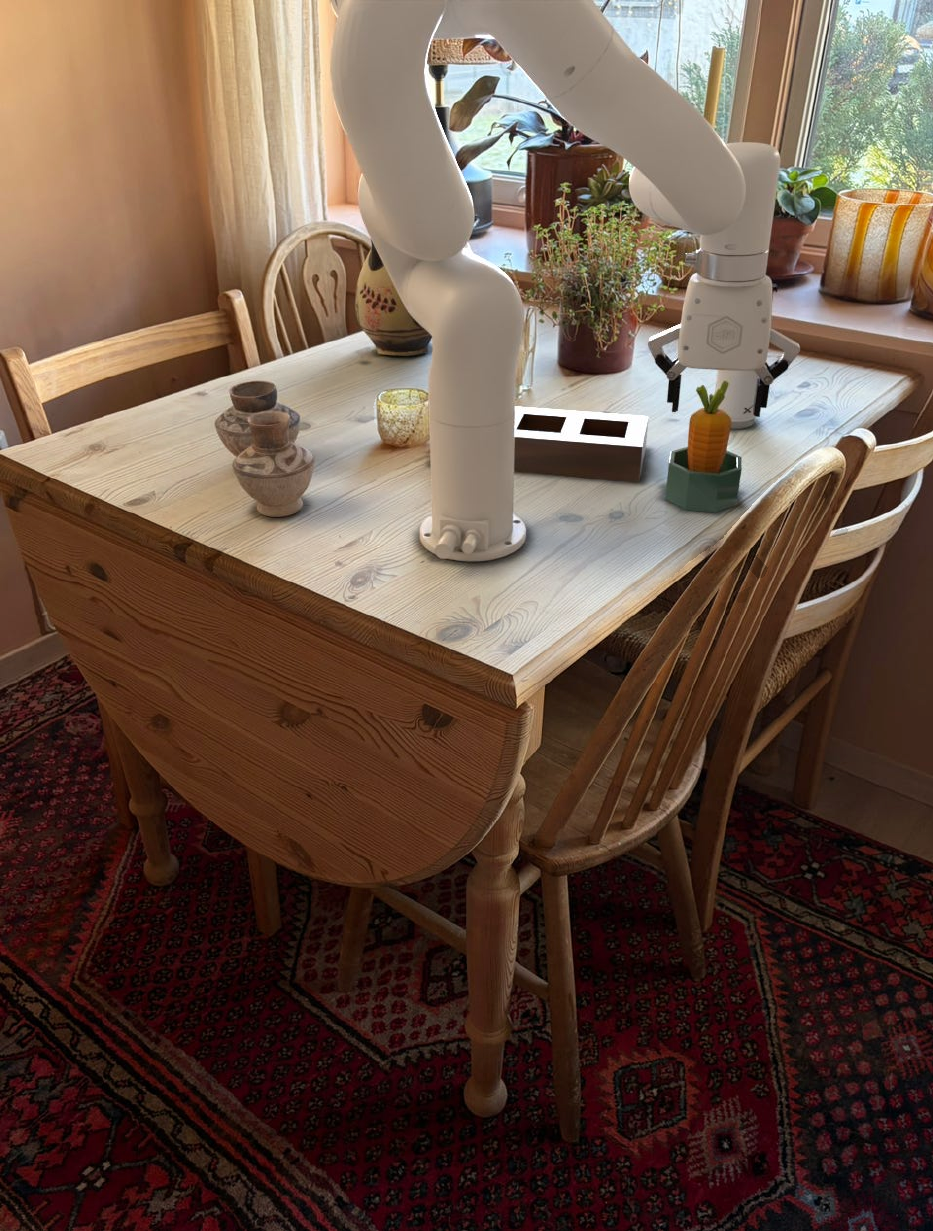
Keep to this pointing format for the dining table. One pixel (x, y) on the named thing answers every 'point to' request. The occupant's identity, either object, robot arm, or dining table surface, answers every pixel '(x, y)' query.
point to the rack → (580, 443)
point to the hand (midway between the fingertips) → (715, 410)
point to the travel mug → (739, 393)
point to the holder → (703, 483)
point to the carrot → (708, 432)
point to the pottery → (266, 448)
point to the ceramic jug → (386, 312)
